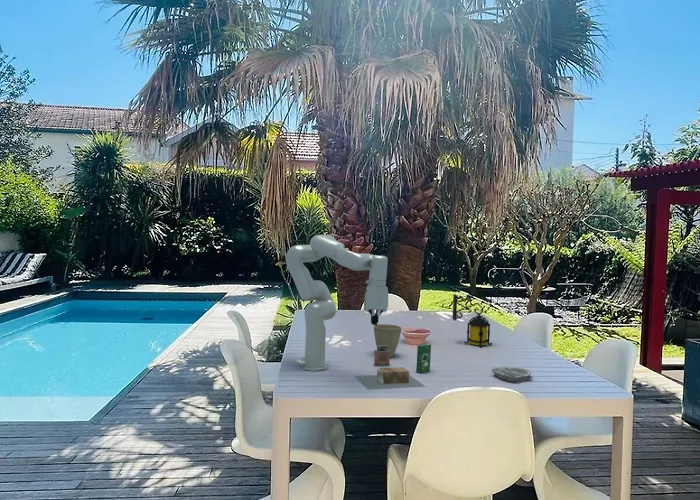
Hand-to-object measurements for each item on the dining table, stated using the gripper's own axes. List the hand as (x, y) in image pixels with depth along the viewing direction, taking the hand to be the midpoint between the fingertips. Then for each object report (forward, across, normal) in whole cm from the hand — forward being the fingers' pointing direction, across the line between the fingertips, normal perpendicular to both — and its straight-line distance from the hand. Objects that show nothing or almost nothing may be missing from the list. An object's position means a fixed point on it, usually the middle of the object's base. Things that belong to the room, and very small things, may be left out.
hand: (374, 324), depth 228 cm
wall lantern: (+25, +85, +63) cm, 108 cm away
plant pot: (+26, +22, +41) cm, 53 cm away
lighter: (+25, +13, +23) cm, 37 cm away
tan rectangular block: (+21, +2, -6) cm, 22 cm away
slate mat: (+24, +7, -6) cm, 26 cm away
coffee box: (+25, +29, +9) cm, 39 cm away
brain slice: (+23, +68, -6) cm, 72 cm away
